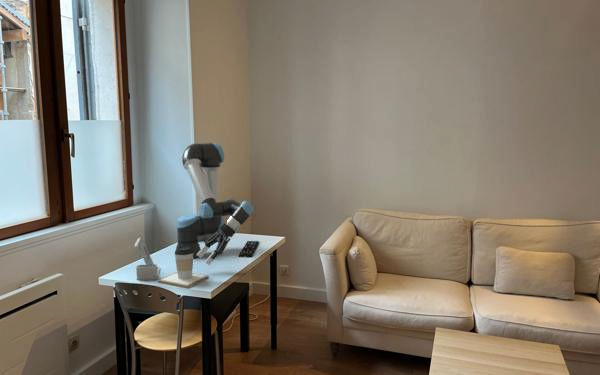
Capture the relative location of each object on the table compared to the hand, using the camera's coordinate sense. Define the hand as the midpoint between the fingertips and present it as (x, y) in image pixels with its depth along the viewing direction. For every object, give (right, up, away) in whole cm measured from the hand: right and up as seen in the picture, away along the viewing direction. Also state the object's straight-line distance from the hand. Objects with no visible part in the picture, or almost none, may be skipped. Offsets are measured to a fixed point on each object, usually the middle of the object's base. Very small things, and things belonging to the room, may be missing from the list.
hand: (202, 260), depth 224 cm
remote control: (+18, -2, +50) cm, 53 cm away
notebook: (-8, -9, -4) cm, 13 cm away
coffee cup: (-8, -8, -3) cm, 12 cm away
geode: (-14, +2, +75) cm, 76 cm away
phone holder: (-28, -8, +4) cm, 30 cm away
